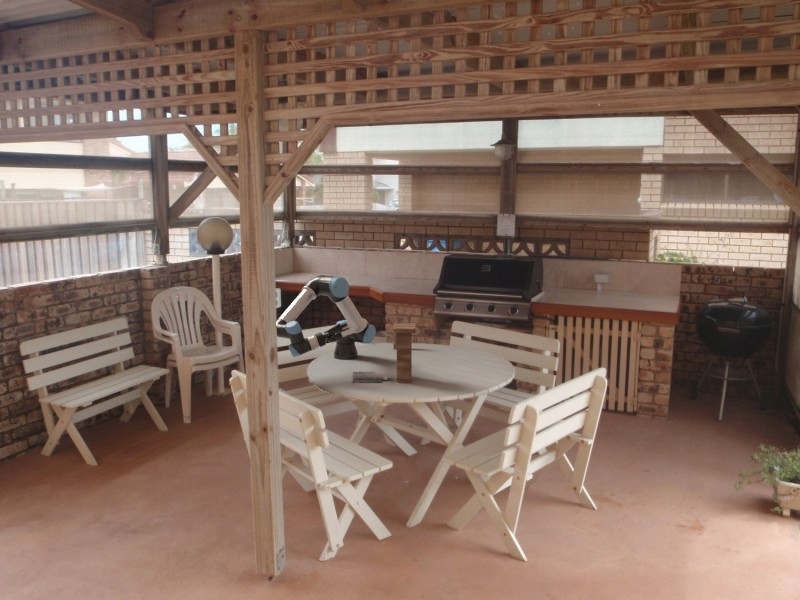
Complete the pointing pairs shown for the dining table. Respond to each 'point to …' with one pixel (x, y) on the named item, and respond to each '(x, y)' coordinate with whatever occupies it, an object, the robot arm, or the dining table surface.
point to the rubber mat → (367, 380)
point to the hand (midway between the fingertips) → (352, 326)
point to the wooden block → (395, 338)
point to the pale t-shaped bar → (370, 375)
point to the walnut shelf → (404, 350)
